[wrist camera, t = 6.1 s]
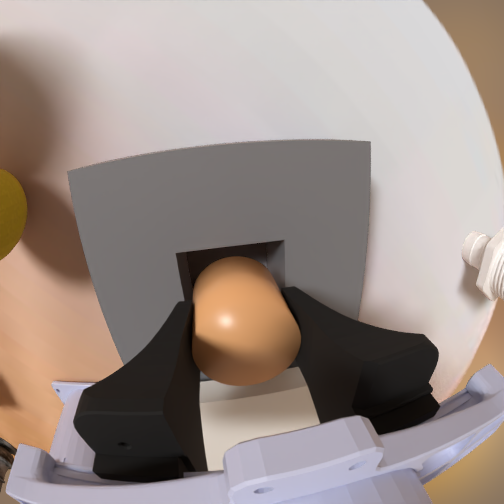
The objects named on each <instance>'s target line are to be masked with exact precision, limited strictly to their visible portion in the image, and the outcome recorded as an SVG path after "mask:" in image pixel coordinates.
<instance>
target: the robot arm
mask: <svg viewBox="0 0 504 504" xmlns="http://www.w3.org/2000/svg"><path fill="white" fill-rule="evenodd" d="M281 293H282V295H283V297H284V299H285V301H286V303H287V305H288V307H289V309H290V311H291V313H292V315H293V317H294V319H295V321H296V323H297V325H298V327H299V330H300V334H301V345H300V349H299V352H298V354H297V356H296V358H295V361H296V363H297V365H298V367H299V369H300V371H301V373H302V375H303V377H304V379H305V381H306V384H307V386H308V389H309V391H310V394H311V397H312V400H313V403H314V406H315V409H316V412H317V416H318V419H319V422H320V424H318V425H314V426H310V427H306V428H302V429H298V430H294V431H289V432H284V433H280V434H275V435H269V436H264V437H258V438H254V439H251V440H247V441H243V442H240V443H238V444H236V445H235V446H233V447H232V448H230V449H228V450H227V451H226V452H225V453H224V457H223V460H222V461H223V469H224V470H216V471H208V466H207V460H206V454H205V447H204V439H203V431H202V422H201V412H200V372H201V371H200V369H199V368H198V367H197V365H196V363H195V362H194V359H193V355H192V322H193V302H192V300H188V301H179V302H178V303H177V304H176V305H175V307H174V309H173V310H172V312H171V313H170V315H169V317H168V318H167V320H166V321H165V322H164V324H163V325H162V327H161V328H160V330H159V331H158V332H157V333H156V335H155V336H154V337H153V338H152V340H151V341H150V342H149V343H148V344H147V345H146V347H144V348H143V349H142V350H141V351H140V352H139V353H138V354H137V355H136V356H135V357H134V358H133V359H131V360H130V361H129V362H128V363H127V364H125V365H124V366H123V367H121V368H120V369H119V370H117V371H116V372H114V373H113V374H111V375H110V376H108V377H106V378H105V379H103V380H101V381H99V382H97V383H83V382H62V381H53V382H52V387H53V389H54V390H55V392H56V393H57V395H58V396H59V398H60V399H61V401H62V402H63V403H64V407H63V410H62V413H61V416H60V419H59V422H58V426H57V429H56V432H55V435H54V439H53V442H52V445H51V449H50V453H47V452H46V451H44V450H42V449H40V448H37V447H33V446H29V445H25V444H22V443H21V444H19V446H18V449H17V452H16V456H15V459H14V462H13V465H12V469H11V472H10V476H9V480H8V484H7V488H6V493H7V494H8V495H10V496H11V497H13V498H14V499H16V500H17V501H18V502H20V504H433V503H432V501H431V499H430V498H429V496H428V494H427V492H426V491H425V489H424V487H423V485H424V484H426V483H427V482H429V481H431V480H432V479H434V478H435V477H436V476H438V475H440V474H441V473H442V472H444V471H445V470H447V469H448V468H450V467H451V466H452V465H453V464H455V463H457V462H458V461H459V460H461V459H462V458H463V457H464V456H465V455H467V454H468V453H469V452H471V451H472V450H473V449H475V448H476V447H477V446H478V445H480V444H481V443H482V442H483V441H485V440H486V439H487V438H488V437H489V436H490V435H492V434H493V433H494V432H495V431H496V430H497V428H498V427H499V426H500V425H501V424H502V422H503V421H504V377H503V376H502V375H501V374H500V373H499V372H498V371H497V370H496V369H495V368H494V367H493V366H492V365H491V364H488V365H486V366H485V367H483V368H482V369H480V370H479V371H477V372H476V373H475V374H474V375H473V376H472V377H471V378H470V380H469V381H468V383H467V385H466V388H465V389H463V390H462V391H460V392H458V393H457V394H455V395H453V396H451V397H450V398H448V399H446V400H444V401H443V402H441V403H439V404H438V402H437V401H436V400H435V398H434V397H433V396H432V395H431V393H432V391H433V388H432V387H431V385H430V384H429V380H430V378H431V376H432V374H433V372H434V370H435V367H436V365H437V362H438V357H439V352H438V349H437V347H436V346H435V345H434V344H433V343H432V342H431V341H430V340H429V339H428V338H427V337H426V336H425V335H424V334H414V333H404V332H397V331H392V330H387V329H382V328H378V327H375V326H371V325H368V324H365V323H362V322H359V321H357V320H354V319H352V318H349V317H347V316H345V315H342V314H340V313H338V312H336V311H335V310H333V309H331V308H329V307H327V306H325V305H324V304H322V303H320V302H319V301H317V300H316V299H314V298H312V297H311V296H309V295H308V294H306V293H305V292H303V291H302V290H300V289H298V288H297V287H295V286H292V287H286V288H281Z"/></svg>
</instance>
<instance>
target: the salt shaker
mask: <svg viewBox="0 0 504 504" xmlns="http://www.w3.org/2000/svg"><path fill="white" fill-rule="evenodd" d="M16 452H17V450H16V449H15V448H14V447H13V446H12V445H11V444H9V443H8V442H6V441H5V440H3V439H2V438H0V491H1V487H2V483H5V481H4V477H5V474H6V472H7V470H8V469H12V465H13V462H14V458H13V456H12V455H11V454H13V455H16Z"/></svg>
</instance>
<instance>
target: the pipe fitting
mask: <svg viewBox="0 0 504 504" xmlns="http://www.w3.org/2000/svg"><path fill="white" fill-rule="evenodd" d="M462 258H463V259H464V260H465V261H466V262H467V263H468V264H470V265H471V266H472V267H475V268H477V269H478V270H479V271H480V272H479V275H478V279H477V282H476V286H477V287H478V288H479V290H480V291H481V292H482V293H483V294H484V295H485V296H486V297H487V298H488V299H490V300H491V301H492V302H493V301H495V300H496V298H497V297H498V296H499V297H500V298H502V299H503V300H504V227H503V228H502V229H501V230H500V231H499V232H498V233H497V234H496V235H495V236H494V237H493V238H489V237H487V236H486V235H485V234H482V233H479V232H476V231H473V232H471V233H469V234H468V236H467V237H466V239H465V241H464V243H463V246H462Z"/></svg>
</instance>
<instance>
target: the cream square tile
mask: <svg viewBox="0 0 504 504" xmlns="http://www.w3.org/2000/svg"><path fill="white" fill-rule="evenodd" d="M200 412H201V422H202V431H203V439H204V447H205V454H206V460H207V466H208V471H216V470H224V469H223V461H222V460H223V457H224V453H225V452H226V451H227V450H228V449H230V448H232V447H233V446H235V445H236V444H238V443H240V442H243V441H247V440H251V439H254V438H258V437H264V436H269V435H275V434H280V433H284V432H289V431H294V430H298V429H302V428H306V427H310V426H314V425H318V424H320V422H319V419H318V416H317V412H316V409H315V406H314V403H313V400H312V397H311V394H310V391H309V389H308V386H307V384H306V381H305V379H304V377H303V375H302V373H301V371H300V369H299V367H294V368H289V369H286V370H284V371H283V372H282V373H281V374H279V375H277V376H276V377H274V378H272V379H270V380H268V381H265V382H262V383H259V384H254V385H248V386H232V385H226V384H222V383H219V382H217V381H214V380H212V381H203V382H200Z"/></svg>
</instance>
